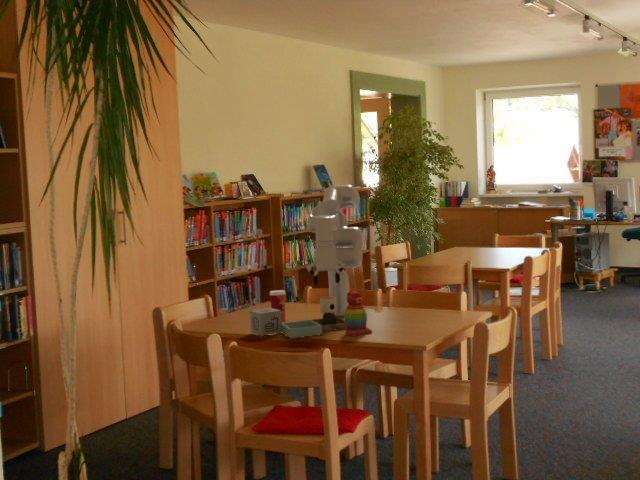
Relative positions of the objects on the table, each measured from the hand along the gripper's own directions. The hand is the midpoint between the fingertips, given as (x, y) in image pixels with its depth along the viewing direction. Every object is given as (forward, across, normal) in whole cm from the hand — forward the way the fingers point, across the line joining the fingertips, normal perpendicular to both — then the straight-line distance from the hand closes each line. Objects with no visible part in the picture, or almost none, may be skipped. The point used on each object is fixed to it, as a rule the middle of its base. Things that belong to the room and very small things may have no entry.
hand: (326, 283), depth 385 cm
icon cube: (+20, +28, -1) cm, 34 cm away
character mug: (+19, 0, 0) cm, 19 cm away
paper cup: (+19, +16, -28) cm, 38 cm away
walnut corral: (+19, 0, 0) cm, 19 cm away
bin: (+19, +15, +8) cm, 26 cm away
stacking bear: (+20, -6, +20) cm, 28 cm away
